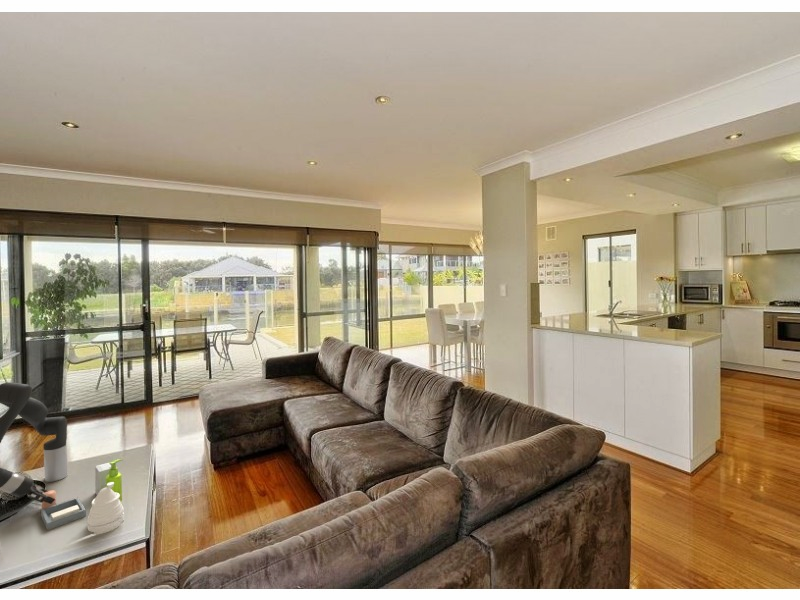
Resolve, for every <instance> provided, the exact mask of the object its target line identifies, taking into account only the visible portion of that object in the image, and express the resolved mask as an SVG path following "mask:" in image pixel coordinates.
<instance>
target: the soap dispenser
mask: <svg viewBox="0 0 800 600" xmlns="http://www.w3.org/2000/svg"><path fill="white" fill-rule="evenodd" d="M123 460H124V459H122V458H118V459H117V458H116V459H114V460H112V461H110V462H108V463H109V464H110V465H111V468H110V469H109V475H108V476H107V477H106V487H107V484H108V483H110V482H114V485H113V487H112V488H110V489H112V490H113V491H114V492H116V493H119V494H120V497H119V500H120V501H121V502H122V500H123V491H122V490H123V489H122V488H123V487H122V473H121V472H119V468H118V466H116V463H119V462H121V461H123ZM107 488H108V487H107Z"/></svg>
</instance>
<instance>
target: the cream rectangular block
mask: <svg viewBox="0 0 800 600" xmlns="http://www.w3.org/2000/svg"><path fill="white" fill-rule="evenodd" d="M77 511H79V507H78V505H75V506H72V507H69V508H67V509H64V510H61V511H58V512H55V513H52V514H51V521H52V520H55V519H58V518H60V517H63V516H66V515H69V514H72V513H74V512H77Z"/></svg>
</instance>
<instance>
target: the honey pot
mask: <svg viewBox="0 0 800 600" xmlns="http://www.w3.org/2000/svg"><path fill="white" fill-rule="evenodd" d="M113 485H114V482H110V483H108V484H107V487H108V488H107V487H106V488H103V489H102V490H101V491H100V492H99V493H98V495H97V494H96V496H95V498H93V500H92V501H91V508H90V510H89V514H88V516H87V520H86V521H87V522H86V523H87V530H88V531H89V532H91V535H101V534H105V533H108V532H112V531H113V530H115V529H117V528H119V527H120V526H122V524H123V523H124V519H125V512H124V511H125V510H124V509H125V508H124V506H123V504H122V501H120V500H119V497H120V494H119V493H116V492H114V491H113V490H112V489H110V488H112V487H113ZM118 526H119V527H118Z"/></svg>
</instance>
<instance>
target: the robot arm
mask: <svg viewBox="0 0 800 600" xmlns="http://www.w3.org/2000/svg"><path fill="white" fill-rule="evenodd" d="M32 393H33V388H32V386H31V384H28V383H27V384H26V383H19V382H13V381H12V382H11V381H9V382H3V383H0V404H1V405H3V406H5V407H7V408H8V409H7V411H6V412H4V414H3V415H2V416H0V444H1V443H2V440H3V439H4V437H5V435H6V433H7V431H8V430H9V428H10V427H11V426H12V424H13V422H14V421H15V419H17V417H18V416H19V417H21V419H23V420H24V421H25V422H27V423H28V424H30V425H31V426H32V427H33V428H34V429H35V430H36V432H37V433H38V434H39V435H41V436H45V437H46V436H55V437H54V438H53V439H52V438H51V439H50V440H47V441H45V442H44V443H43V446H42V447H43V448H42V449H43V467H44V468H43V469H44V482H46V483H51V482H52V483H53V482H57V481H61V480H63V479H64V478H67V476H68V474H69V473H68V454H67V453H68V452H67V451H68V450H67V439H68V419H67V418H66V416H54V417H53V416H52V417H51V416H50V417H47V416H48V412H49V410H48V407H47V406H46V405H45V404H44V403H43V402H42V401H41V400H38V399H35V398H34V397H31V395H32ZM0 491H2V492H4V493H6V494H9V495H11V496H15V497H20V498H21V497H22V496H24V495H26V494H27V497H28V498H29V499H31V500H34V501H37V502H38V503H40V504H42V502H43V501H44V502H47V503H49V504H52V503H53V502H54V500H55V499H54V498H52V497H49V496H47V495H45V494H44V493H45V492H47V491H48V489H44V487H42V485H40V484H39V485H38V484H36V483H34V479H33V478H29V477H27V476H25V475H22V474H20V473H17V472H13V471H10V470H9V469H5V468H3V467H0ZM41 497H43V498H42V499H41Z"/></svg>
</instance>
